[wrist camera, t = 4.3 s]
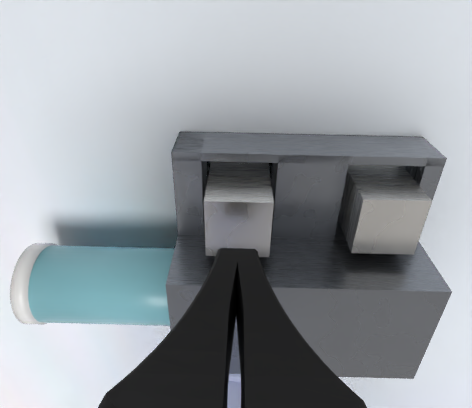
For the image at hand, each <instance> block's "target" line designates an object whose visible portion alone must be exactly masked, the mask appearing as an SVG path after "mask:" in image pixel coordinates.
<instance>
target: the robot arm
mask: <svg viewBox="0 0 472 408" xmlns="http://www.w3.org/2000/svg"><path fill="white" fill-rule="evenodd" d="M236 321H237V334H238V347H239V360H240V373H241V374H229V370H230V362H231V354H232V346H233V338H234V330H235V322H236ZM98 408H367V407H366V405H365V403H364V401H363V400H362V399H361V398H360V397H359V396H357V395H356V394H355V393H354V392H353V391H352V390H351V389H350V388H349V387H348V386H347V385H346V384H345V383H344V382H342V381H341V380H340V379H339V378H338V377H337V376H336V375H335V373H334V372H333V371H332V370H331V369H330V368H329V367H328V366H327V365H326V364H325V363H324V362H323V361H322V360H321V358H320V357H319V356H318V355H317V354H316V353H315V351H314V350H313V349H312V348H311V347H310V346H309V345H308V343H307V342H306V341H305V339H304V338H303V337H302V335H301V334H300V333H299V332H298V330H297V329H296V327H295V326H294V324H293V323H292V322H291V320H290V319H289V317H288V315H287V314H286V312H285V311H284V309H283V307H282V306H281V304H280V302H279V301H278V299H277V297H276V295H275V293H274V291H273V289H272V287H271V285H270V283H269V281H268V279H267V277H266V275H265V272H264V270H263V267H262V265H261V262H260V259H259V255H258V251H257V250H256V249H243V248H220V249H219V250H218V251H217V255H216V258H215V260H214V263H213V265H212V267H211V270H210V272H209V274H208V276H207V278H206V280H205V281H204V283H203V285H202V287H201V289H200V290H199V292H198V294H197V295H196V297H195V298H194V300H193V302H192V303H191V305H190V306H189V308H188V309H187V311H186V312H185V313H184V315H183V316H182V318H181V319H180V320H179V321H178V323H177V324H176V325H175V327H174V328H173V329H172V330H171V331H170V333H169V334H168V335H167V336H166V337H165V339H164V340H163V341H162V342H161V343H160V344H159V345H158V346H157V347H156V348H155V350H154V351H153V352H151V353H150V354H149V355H148V356H147V357H146V358H145V359H144V360H143V361H142V362H141V363H140V364H139V365H138V366H137V367H136V368H135V369H134V370H133V371H132V372H131V373H130V374H128V375H127V376H126V377H125V378H124V379H123V380H121V381H120V382H119V383H118V384H117V385H115V386H114V387H113V388H112V389H111V390H110V391H108V392H107V393H106V394H105V396H104V398H103V400H102V401H101V403H100V405H99V407H98Z"/></svg>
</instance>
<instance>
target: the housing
mask: <svg viewBox="0 0 472 408" xmlns="http://www.w3.org/2000/svg"><path fill="white" fill-rule="evenodd" d="M171 154H172V167H173V179H174V191H175V203H176V215H177V228H178V238H177V242H176V246H175V249H174V253H173V257H172V261H171V265H170V269H169V273H168V277H167V281H166V294H167V303H168V311H169V320H170V329H171V330H172V329H173V328H174V327H175V325H176V324H177V323H178V321H179V320H180V319H181V318H182V316H183V315H184V313H185V312H186V311H187V309H188V308H189V306H190V305H191V303H192V302H193V300H194V298H195V297H196V295H197V294H198V292H199V290H200V289H201V287H202V285H203V283H204V281H205V280H206V278H207V276H208V274H209V272H210V270H211V267H212V265H213V263H214V260H215V258H216V256H206V250H205V221H204V197H205V192H206V186H207V161H215V162H259V163H273V164H272V178H271V186H272V193H273V201H274V206H273V218H272V230H271V243H270V255H269V257H259V259H260V262H261V265H262V267H263V270H264V272H265V275H266V277H267V279H268V281H269V283H270V285H271V287H272V289H273V291H274V293H275V295H276V297H277V299H278V301H279V302H280V304H281V306H282V307H283V309H284V311H285V312H286V314H287V315H288V317H289V319H290V320H291V322H292V323H293V324H294V326H295V327H296V329H297V330H298V332H299V333H300V334H301V335H302V337H303V338H304V339H305V341H306V342H307V343H308V345H309V346H310V347H311V348H312V349H313V350H314V351H315V353H316V354H317V355H318V356H319V357H320V358H321V360H322V361H323V362H324V363H325V364H326V365H327V366H328V367H329V368H330V369H331V370H332V371H333V372H334V373H335V375H336V376H337V377H372V378H409V379H414V376H415V374H416V372H417V370H418V367H419V365H420V363H421V361H422V358H423V356H424V354H425V352H426V349H427V347H428V345H429V343H430V340H431V338H432V336H433V334H434V331H435V329H436V327H437V325H438V322H439V320H440V318H441V316H442V313H443V311H444V309H445V307H446V304H447V302H448V300H449V297H450V295H451V293H452V291H451V290H450V288H449V287H448V285H447V284H446V282H445V281H444V279H443V278H442V276H441V275H440V273H439V272H438V270H437V269H436V267H435V265H434V264H433V262H432V261H431V259H430V258H429V256H428V255H427V253H426V252H425V250H424V249H423V247H422V246H421V244H420V243H419V241H418V244H417V247H416V250H415V252H414V255H411V254H370V253H351V251H350V249H349V246H348V243H347V241H346V238H345V236H344V233H343V231H342V228H341V225H340V223H339V220H338V216H339V210H340V205H341V200H342V195H343V190H344V185H345V179H346V174H347V169H348V164H349V165H393V166H403V167H404V168H405V169H406V171H407V172H408V173H409V174H410V175H411V177H412V178H413V179H414V180H415V181H416V182H417V184H418V185H419V186H420V187H421V188H422V190H423V191H424V192H425V193H426V194H427V196H428V197H429V198H430V199H431V200H433V197H434V194H435V191H436V188H437V185H438V182H439V179H440V176H441V173H442V171H443V168H444V165H445V162H446V159H447V158H446V157H445V156H444V155H442V154H441V153H440V152H439V151H438V150H437V149H436V148H435V147H433V146H432V145H431V144H430V143H429V142H428V141H427V140H426V139H425V138H423V137H395V136H350V135H304V134H258V133H212V132H179V135H178V137H177V140H176V142H175V145H174V147H173V149H172V152H171ZM229 374H241V373H240V360H239V347H238V334H237V321H236V322H235V330H234V338H233V346H232V354H231V362H230V370H229Z"/></svg>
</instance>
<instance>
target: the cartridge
mask: <svg viewBox="0 0 472 408" xmlns="http://www.w3.org/2000/svg"><path fill="white" fill-rule="evenodd" d="M174 249H175V248H140V247H99V246H58V245H57V244H52V243H35V244H32V245H30V246H29V247H28V248H26V249H25V251H24V252H23V253H22V254H21V256H20V258H19V259H18V261H17V263H16V266H15V269H14V272H13V275H12V280H11V287H10V300H11V306H12V310H13V313H14V315H15V317H16V318H17V319H18V320H19V321H20V322H21V323H23V324H46V323H86V324H125V325H164V326H170V320H169V311H168V303H167V294H166V281H167V277H168V273H169V269H170V265H171V261H172V257H173V253H174Z"/></svg>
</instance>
